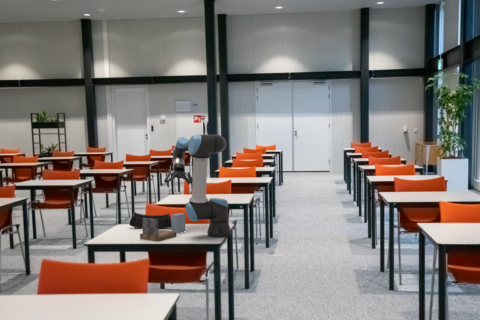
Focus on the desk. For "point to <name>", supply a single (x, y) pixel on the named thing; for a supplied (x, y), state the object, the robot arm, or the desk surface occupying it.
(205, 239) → the desk surface
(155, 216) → the magazine
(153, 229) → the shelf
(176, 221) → the slate gray rectangular prism
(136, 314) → the desk surface
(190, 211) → the robot arm
